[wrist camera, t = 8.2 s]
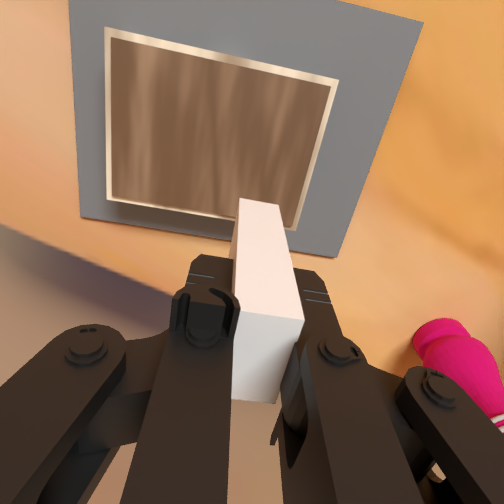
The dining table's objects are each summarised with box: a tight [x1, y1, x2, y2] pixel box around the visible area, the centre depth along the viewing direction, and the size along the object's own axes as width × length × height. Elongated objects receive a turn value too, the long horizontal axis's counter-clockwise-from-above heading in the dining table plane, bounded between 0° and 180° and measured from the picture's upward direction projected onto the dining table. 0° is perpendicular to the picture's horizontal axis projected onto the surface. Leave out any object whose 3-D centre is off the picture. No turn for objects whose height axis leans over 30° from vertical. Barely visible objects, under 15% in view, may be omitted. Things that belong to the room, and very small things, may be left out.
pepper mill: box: [413, 318, 504, 434], centre depth 33 cm, size 7×7×20 cm
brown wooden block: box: [104, 26, 339, 231], centre depth 27 cm, size 4×12×16 cm
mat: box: [69, 0, 424, 258], centre depth 29 cm, size 26×21×1 cm
